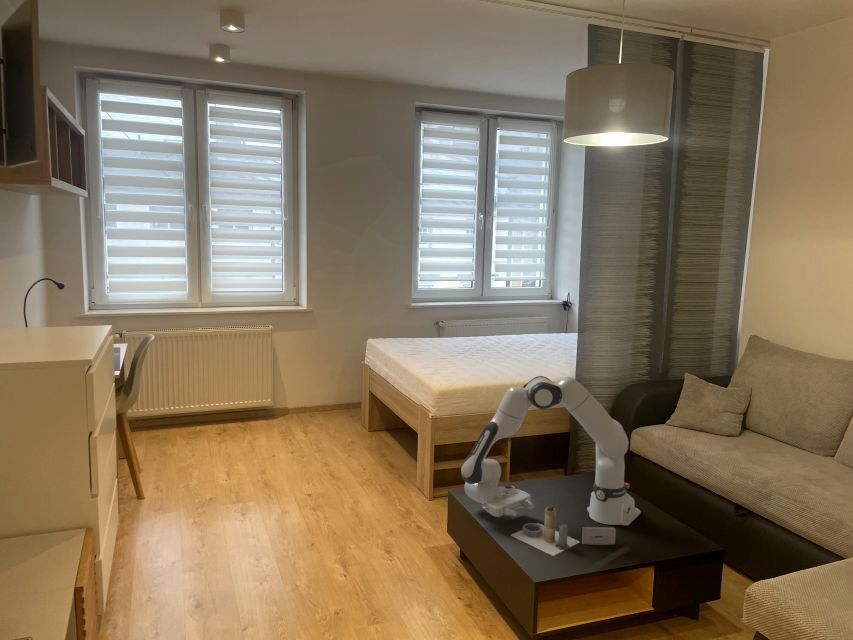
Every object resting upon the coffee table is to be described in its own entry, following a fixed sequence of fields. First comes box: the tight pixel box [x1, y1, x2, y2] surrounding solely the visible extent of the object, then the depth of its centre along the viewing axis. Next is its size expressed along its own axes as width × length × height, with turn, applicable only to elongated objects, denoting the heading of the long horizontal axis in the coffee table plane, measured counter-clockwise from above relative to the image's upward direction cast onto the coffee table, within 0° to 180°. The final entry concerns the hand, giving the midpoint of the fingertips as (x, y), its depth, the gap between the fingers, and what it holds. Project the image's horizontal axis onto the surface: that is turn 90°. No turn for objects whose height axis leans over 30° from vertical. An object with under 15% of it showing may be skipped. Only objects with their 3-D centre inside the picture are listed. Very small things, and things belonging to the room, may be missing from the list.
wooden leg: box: [543, 505, 557, 543], centre depth 237 cm, size 4×4×13 cm
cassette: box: [581, 526, 617, 546], centre depth 236 cm, size 12×2×8 cm, turn 90°
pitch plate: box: [510, 522, 581, 557], centre depth 239 cm, size 16×20×10 cm
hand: (524, 510), depth 246 cm, fingers open, 8 cm apart
